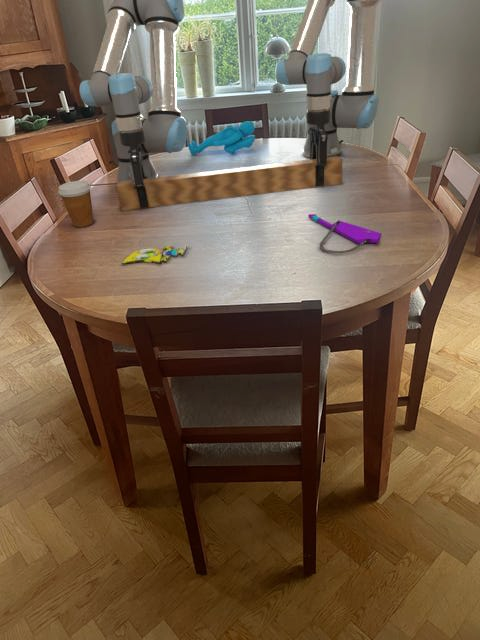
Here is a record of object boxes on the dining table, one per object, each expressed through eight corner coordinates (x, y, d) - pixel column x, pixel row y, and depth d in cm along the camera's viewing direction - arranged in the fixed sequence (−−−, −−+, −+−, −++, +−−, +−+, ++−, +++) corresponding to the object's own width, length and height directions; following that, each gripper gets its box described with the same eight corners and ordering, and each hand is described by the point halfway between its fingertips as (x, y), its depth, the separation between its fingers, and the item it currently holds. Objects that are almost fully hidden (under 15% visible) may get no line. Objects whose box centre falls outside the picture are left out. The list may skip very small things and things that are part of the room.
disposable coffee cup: (61, 227, 148) (50, 189, 141) (80, 216, 155) (71, 179, 149) (86, 230, 145) (76, 191, 138) (105, 218, 152) (96, 180, 145)
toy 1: (178, 260, 119) (121, 261, 122) (179, 264, 120) (122, 264, 122) (187, 243, 128) (133, 244, 130) (187, 246, 128) (134, 247, 131)
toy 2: (193, 134, 218) (255, 115, 207) (201, 157, 223) (262, 139, 212) (182, 144, 204) (248, 123, 194) (191, 168, 209) (255, 149, 199)
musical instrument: (364, 263, 114) (392, 222, 127) (364, 255, 113) (391, 215, 125) (276, 252, 127) (309, 216, 139) (275, 245, 126) (308, 210, 138)
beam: (121, 210, 157) (115, 186, 153) (122, 206, 161) (117, 182, 157) (341, 183, 163) (342, 159, 158) (337, 180, 166) (338, 156, 162)
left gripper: (142, 135, 139) (155, 211, 151) (144, 123, 155) (156, 192, 168) (116, 138, 138) (132, 214, 151) (120, 125, 155) (134, 195, 167)
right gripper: (338, 113, 144) (336, 189, 157) (322, 104, 159) (321, 174, 171) (314, 115, 144) (313, 192, 156) (300, 106, 158) (300, 177, 171)
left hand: (144, 203), depth 159 cm, fingers open, 7 cm apart
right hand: (317, 183), depth 164 cm, fingers closed on beam, 4 cm apart
